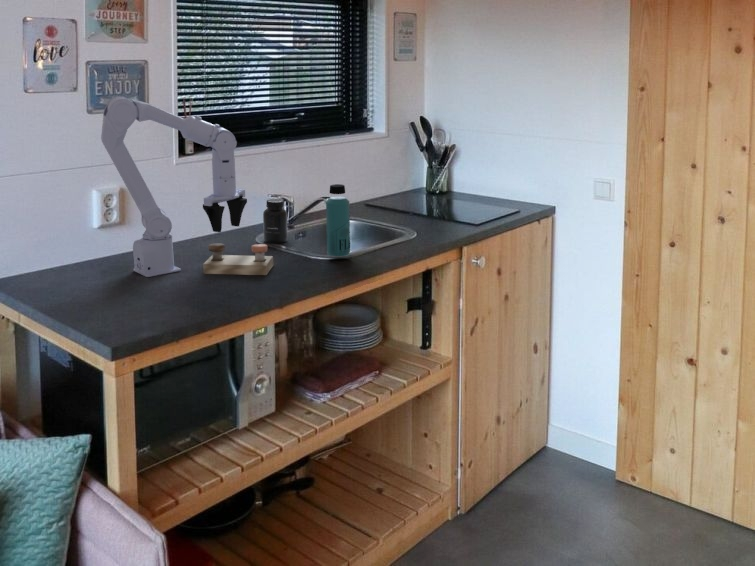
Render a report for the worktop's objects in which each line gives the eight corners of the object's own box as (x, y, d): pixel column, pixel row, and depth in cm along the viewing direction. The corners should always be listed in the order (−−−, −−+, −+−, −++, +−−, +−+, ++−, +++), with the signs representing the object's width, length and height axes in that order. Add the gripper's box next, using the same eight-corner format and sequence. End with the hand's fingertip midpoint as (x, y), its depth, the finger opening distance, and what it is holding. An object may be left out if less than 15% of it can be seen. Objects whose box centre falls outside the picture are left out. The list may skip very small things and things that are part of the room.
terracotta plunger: (257, 262, 215) (256, 248, 214) (249, 259, 218) (248, 245, 217) (270, 260, 217) (270, 246, 216) (262, 256, 220) (261, 243, 219)
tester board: (203, 273, 215) (203, 264, 214) (213, 264, 224) (212, 254, 223) (266, 275, 214) (265, 265, 213) (273, 265, 222) (273, 256, 222)
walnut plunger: (214, 261, 216) (213, 247, 215) (206, 258, 219) (205, 244, 218) (228, 259, 218) (227, 245, 217) (220, 255, 221) (219, 242, 220)
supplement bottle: (268, 245, 243) (267, 203, 240) (260, 239, 249) (258, 199, 245) (291, 242, 246) (290, 201, 243) (282, 237, 252) (281, 197, 248)
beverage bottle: (338, 263, 225) (338, 188, 219) (321, 258, 229) (319, 185, 223) (355, 258, 229) (355, 184, 223) (338, 254, 234) (337, 181, 228)
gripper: (218, 182, 209) (221, 236, 213) (253, 173, 221) (255, 225, 225) (196, 179, 212) (198, 232, 216) (232, 171, 225) (234, 222, 228)
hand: (226, 228), depth 221 cm, fingers open, 7 cm apart
